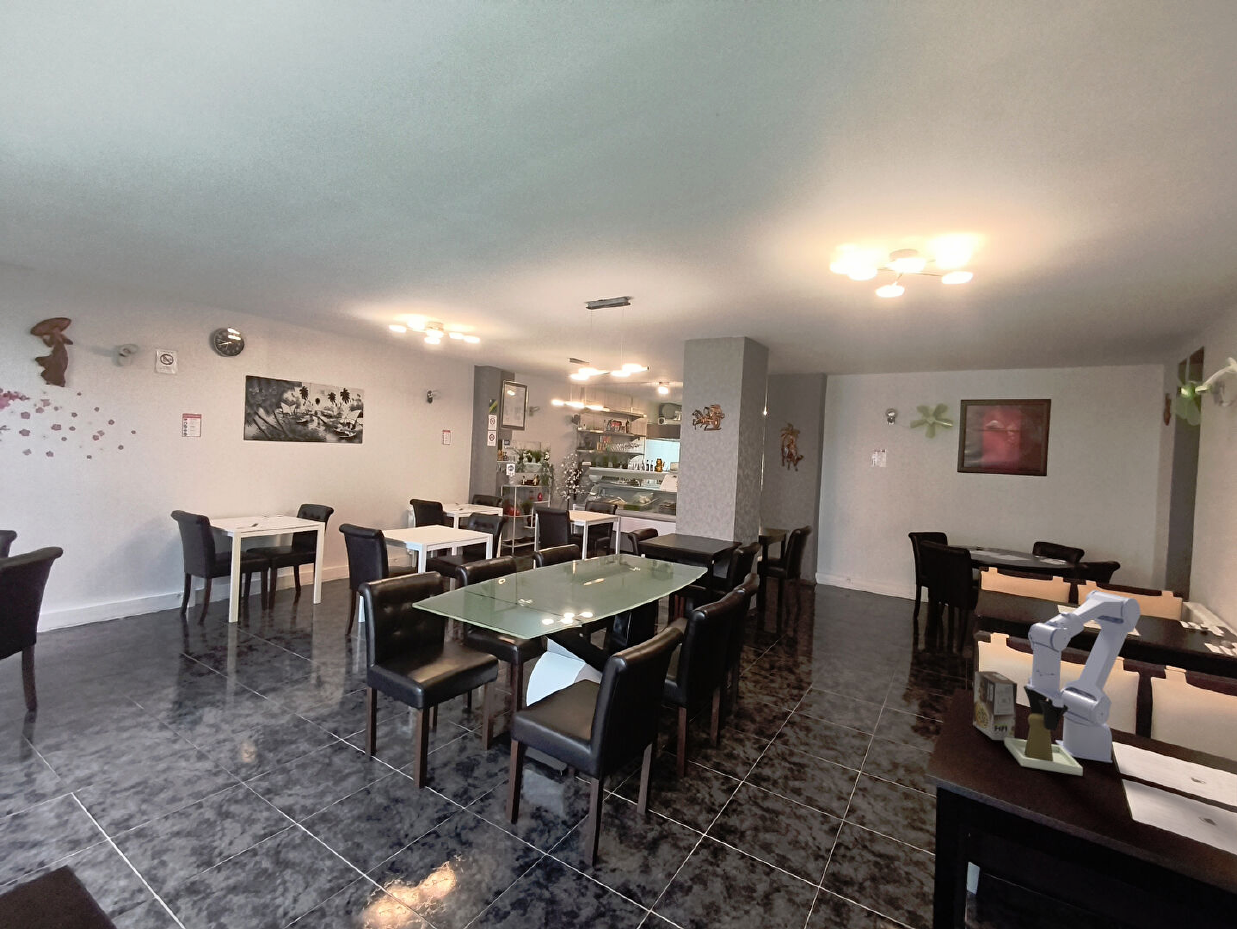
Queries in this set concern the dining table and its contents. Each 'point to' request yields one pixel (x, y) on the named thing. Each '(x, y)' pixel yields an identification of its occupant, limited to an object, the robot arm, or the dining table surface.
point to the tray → (1059, 764)
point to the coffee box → (994, 705)
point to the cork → (1038, 739)
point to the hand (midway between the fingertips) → (1043, 722)
